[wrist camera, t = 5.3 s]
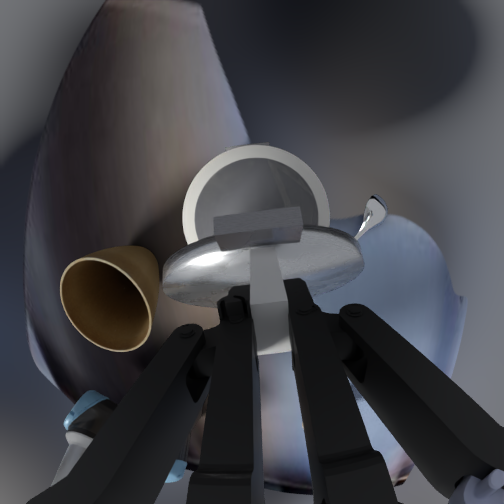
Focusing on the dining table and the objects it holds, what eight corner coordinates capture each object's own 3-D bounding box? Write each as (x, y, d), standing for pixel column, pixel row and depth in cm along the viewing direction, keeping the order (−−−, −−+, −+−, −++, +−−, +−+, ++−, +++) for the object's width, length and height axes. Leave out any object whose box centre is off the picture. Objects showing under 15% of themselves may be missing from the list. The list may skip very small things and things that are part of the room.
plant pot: (93, 262, 47) (47, 299, 31) (137, 209, 44) (89, 233, 28) (146, 315, 50) (116, 367, 35) (195, 270, 47) (173, 319, 32)
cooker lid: (194, 301, 35) (195, 313, 35) (109, 231, 16) (106, 253, 15) (336, 284, 35) (338, 295, 34) (402, 195, 15) (410, 216, 15)
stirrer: (334, 301, 46) (313, 289, 45) (328, 293, 49) (308, 281, 48) (396, 205, 41) (378, 190, 41) (386, 203, 45) (368, 188, 44)
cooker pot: (207, 265, 47) (195, 298, 36) (189, 156, 41) (168, 154, 30) (314, 252, 46) (334, 281, 35) (305, 141, 40) (325, 134, 29)
